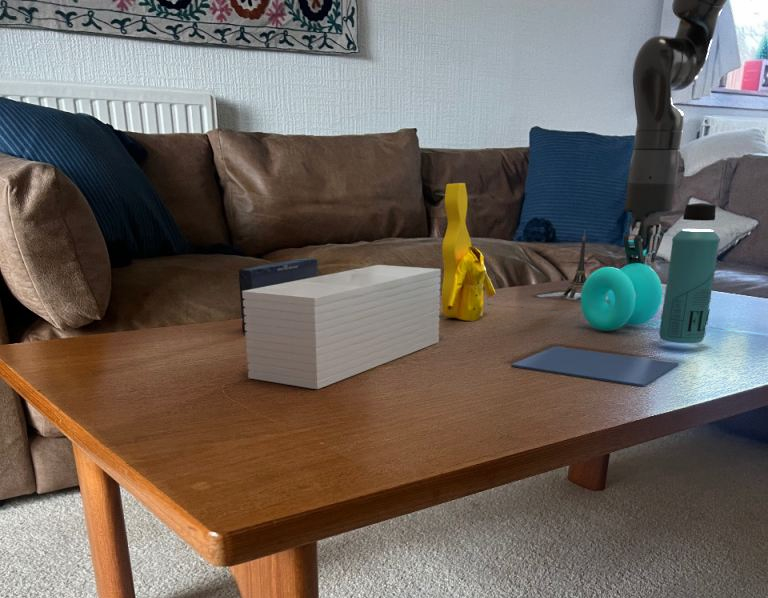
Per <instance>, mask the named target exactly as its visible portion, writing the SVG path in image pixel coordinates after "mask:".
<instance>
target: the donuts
mask: <svg viewBox="0 0 768 598" xmlns="http://www.w3.org/2000/svg"><path fill="white" fill-rule="evenodd" d="M580 293H581V300H580V307H581V312H582V314H583V316H584V318H585V320H586V321H587V323H589V325H591V326H592V327H593V328H595V329H596V330H600V331H602V332H611V331H616V330H618V329H620V328H621V327H623V326H624V325H628V326H639V325H640V326H641V325H643V324H646V323H648V322H649V321H650V320H652V319H653V318H654V317H655V315H656V314H657V313H658V311H659V309H660V307H661V304H662V302H663V301H662V300H663V295H664V293H663V284H662V281H661V278H660V277H659V275H658V274H657V272H656V271H655V270H654V269H653V268H652V267H651V266H650V267H649V266H647V265H644V264H641V263H632V264H626V265H624V266H622V267H621V268H617V267H613V266H603V267H600V268H598V269H596V270H594V271H593V272H592V273H590V274H589V276H587V277H586V281H585V283H584V285H583V288H582V289H581V292H580ZM607 296H608V299H606V297H607Z"/></svg>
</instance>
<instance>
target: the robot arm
mask: <svg viewBox="0 0 768 598" xmlns="http://www.w3.org/2000/svg"><path fill="white" fill-rule="evenodd" d="M727 1H728V0H672V3H671V10H672V12H673V14H674V16H675V17H676V18H678V19H679V23H678V27H677V30H676V34H675V36H666V35H656V36H652V37H650V38H649V39H647V40H646V41H645V42H644V43H643V44H642V45H641V47H640V48H639V50H638V51H637V54H636V57H635V59H634V63H633V66H632V67H633V68H632V88H633V98H634V99H633V100H634V109H635V115H636V126H635V127H636V128H635V134H634V141H633V149H632V150H633V151H632V155H631V159H630V164H629V169H628V177H627V186H626V193H625V200H624V210H625V211H626V212H628V213H632V214H633V218H632V222H631V224H630V226H629V234H624V236H623V244H624V251H625V257H626V258H625V259H626V265H628V264H632V263H641V264H644V265H647V266H649V267H650V268H651V264H653V263H654V262H655V261H656V257H657V254H658V252H659V249H660V246H661V243H662V241H663V238H664V236H665V231H664V230H662V224H661V214H668V213H670V212H672V211H673V207H674V199H675V194H676V187H677V186H676V185H677V179H678V173H679V164H680V149H681V143H682V134H683V128H684V112H683V111H681V110H680V109H679V108H677V107H675V106H674V105H673V102H672V101H673V100H672V92H679V91H682V90H685V89H687V88H688V87H689V86H690V85H691V84H693V83H694V81H695V80H696V79H697V78H698V76H699V75H700V73H701V72H702V70H703V69H704V66H705V63H706V61H707V58H708V55H709V52H710V47H711V44H712V41H713V38H714V34H715V31H716V26H717V22H718V18H719V16H720V14H721V12H722V10H723V8H724V6H725V5H726V3H727Z"/></svg>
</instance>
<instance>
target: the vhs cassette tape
mask: <svg viewBox="0 0 768 598" xmlns="http://www.w3.org/2000/svg"><path fill="white" fill-rule="evenodd" d="M318 270H319V265H318V258H311V257H310V258H309V257H308V258H307V257H305V258H300V259H299V258H298V259H292V260H286V261H281V262H275V263H269V264H263V265H257V266H252V267H247V268H246V267H245V268H240V269H238V284H239V285H238V286H239V299H240V313H241V319H242V320H241V326H242V327H241V329H242V333H243V334H245V333H246V332H247V331H245V324H246V323H244V317H245V316H246V315H244V308H245V307H243V300H245V299H243V295H242V291H245V290H250V289H255V288H261V287H266V286H271V285H276V284H281V283H287V282H292V281H297V280H302V279H308V278H313V277H318V276H319V275H318V272H319V271H318Z"/></svg>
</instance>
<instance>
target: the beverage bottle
mask: <svg viewBox="0 0 768 598" xmlns="http://www.w3.org/2000/svg"><path fill="white" fill-rule="evenodd" d="M716 206H717V205H716V204H712V203H704V202H695V203H688V204H686V205H685V209H684V213H683V217H682V220H683V221H684V220H685V221H701V222H702V221H706V222H707V221H715V220H716V209H717V207H716ZM671 241H672V243H671V249H670V250H671V251H670V259H669V266H668V271H667V280H666V285H665V287H664V294H663V295H664V296H663V302H662V310H661V315H660V319H659V320H660V321H659V322H660V325H659V338H660V340H662V341H665V342H670V343H677V344H698V343H702V342H703V341H704V339H705V337H706V336H707V335H706V330H707V329H708V327H707V325H708V324H709V315H710V311H711V308H710V304H711V302H712V301H711V300H712V291H713V286H714V282H715V274H716V270H717V267H718V266H717V262H718V260H717V259H718V258H717V257H718V253H719V252H718V251H719V246H720V245H719V244H720V242H721V238H720V236H719V235H718V233H717V232H716V231H714V230H713V229H702V228H701V229H700V228H683V229H681V230H680V231H678V232H677V233H676V234H675V235H674V236H672V239H671Z"/></svg>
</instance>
